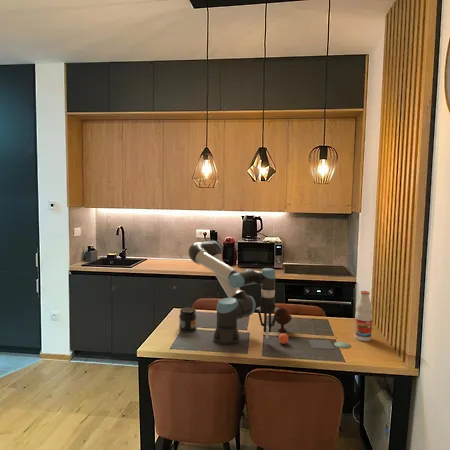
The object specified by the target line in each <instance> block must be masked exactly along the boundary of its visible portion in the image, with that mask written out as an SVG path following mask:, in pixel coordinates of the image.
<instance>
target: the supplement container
mask: <svg viewBox="0 0 450 450" xmlns="http://www.w3.org/2000/svg"><path fill="white" fill-rule="evenodd" d="M179 313H180V314H179V321H178V322H179V327H178V328H179V330H180V331H182V332H193V331H194V330H196V329H197V310H196V308H194V307H183V308H180V309H179Z"/></svg>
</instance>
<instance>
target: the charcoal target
mask: <svg viewBox="0 0 450 450" xmlns="http://www.w3.org/2000/svg"><path fill="white" fill-rule="evenodd" d="M307 341H308V343H309V345H310V347H311V348H312V349H315V350H316V349H318V350H319V349H320V350H335V349H336V348H335V347H334V346H333V343H331V341H330V340H329V339H328V340H326V339H324V340H323V339H308V340H307Z"/></svg>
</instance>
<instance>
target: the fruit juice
mask: <svg viewBox="0 0 450 450" xmlns="http://www.w3.org/2000/svg"><path fill="white" fill-rule="evenodd" d="M370 293H371V292H370V291H368V290H361V291H360V297H359V298H358V299H359V300H358V301H357V303H356V304H355V308H356V312H355V318H354V333H353V334H354V338H355V340H358V341H360V342H370V341H371V340H372V333H373V331H372V329H373V313H372V311H373V310H374V309H373V308H374V307H373V304H372V302H371V300H370V299H371V298H370Z"/></svg>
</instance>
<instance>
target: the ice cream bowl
mask: <svg viewBox="0 0 450 450" xmlns="http://www.w3.org/2000/svg"><path fill="white" fill-rule="evenodd" d="M277 308H278V309H279V312H278V314H277V317H276V321H275V323H277V324H278V325H280V328H278V329H277V332H279V333H283V332H284V333H287V331H288V329H286V328H285V325H288V324H289V323H290V322H291V321H292V318H293V316H292V315H291V314H289V311H288V310H287V309H286V308H285V307H282V306H280V307H277Z"/></svg>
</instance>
